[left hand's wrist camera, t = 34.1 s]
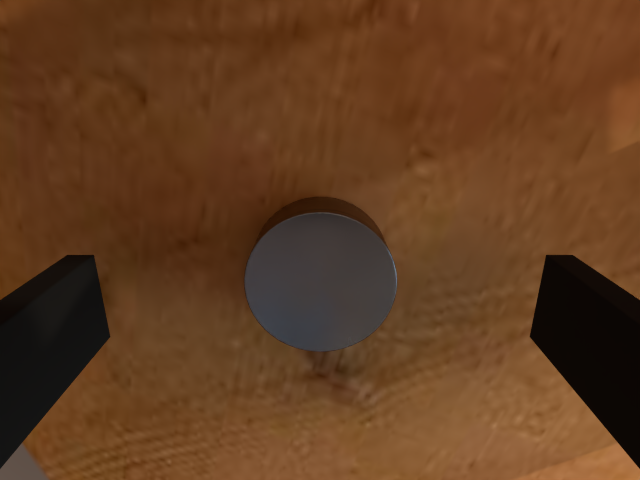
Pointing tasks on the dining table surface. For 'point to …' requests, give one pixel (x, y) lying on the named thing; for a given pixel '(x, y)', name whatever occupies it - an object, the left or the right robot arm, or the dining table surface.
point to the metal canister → (320, 275)
